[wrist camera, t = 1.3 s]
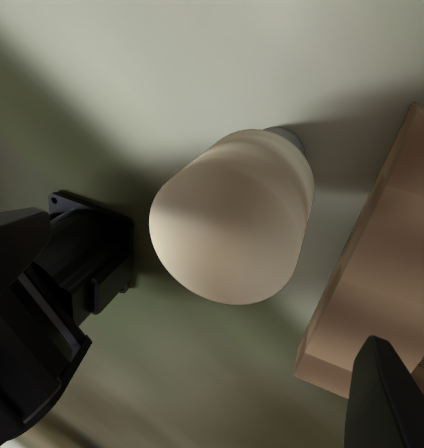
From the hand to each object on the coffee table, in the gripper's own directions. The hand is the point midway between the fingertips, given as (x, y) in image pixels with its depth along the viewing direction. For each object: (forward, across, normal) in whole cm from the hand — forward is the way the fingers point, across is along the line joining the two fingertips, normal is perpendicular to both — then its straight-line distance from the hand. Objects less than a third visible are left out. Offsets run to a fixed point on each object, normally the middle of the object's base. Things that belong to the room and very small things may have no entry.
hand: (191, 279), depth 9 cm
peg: (+11, 0, 0) cm, 11 cm away
